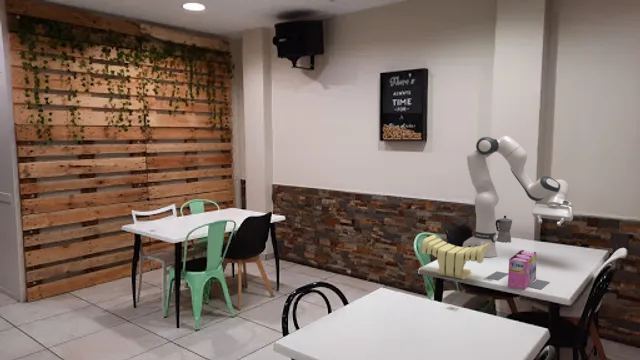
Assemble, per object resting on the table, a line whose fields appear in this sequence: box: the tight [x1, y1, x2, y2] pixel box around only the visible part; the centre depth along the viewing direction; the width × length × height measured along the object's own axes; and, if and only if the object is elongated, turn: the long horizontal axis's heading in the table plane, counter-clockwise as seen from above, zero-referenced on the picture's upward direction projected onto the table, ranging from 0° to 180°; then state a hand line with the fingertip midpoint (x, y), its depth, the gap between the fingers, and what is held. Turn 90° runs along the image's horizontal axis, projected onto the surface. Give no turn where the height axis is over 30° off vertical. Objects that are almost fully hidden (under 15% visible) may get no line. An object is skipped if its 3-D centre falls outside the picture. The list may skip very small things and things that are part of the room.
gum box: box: [507, 249, 537, 290], centre depth 220 cm, size 24×8×14 cm, turn 142°
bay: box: [485, 270, 551, 290], centre depth 223 cm, size 26×15×1 cm, turn 48°
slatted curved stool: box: [421, 234, 490, 280], centre depth 230 cm, size 30×16×18 cm, turn 54°
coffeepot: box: [495, 215, 513, 243], centre depth 309 cm, size 15×9×18 cm, turn 116°
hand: (549, 224), depth 244 cm, fingers open, 8 cm apart
